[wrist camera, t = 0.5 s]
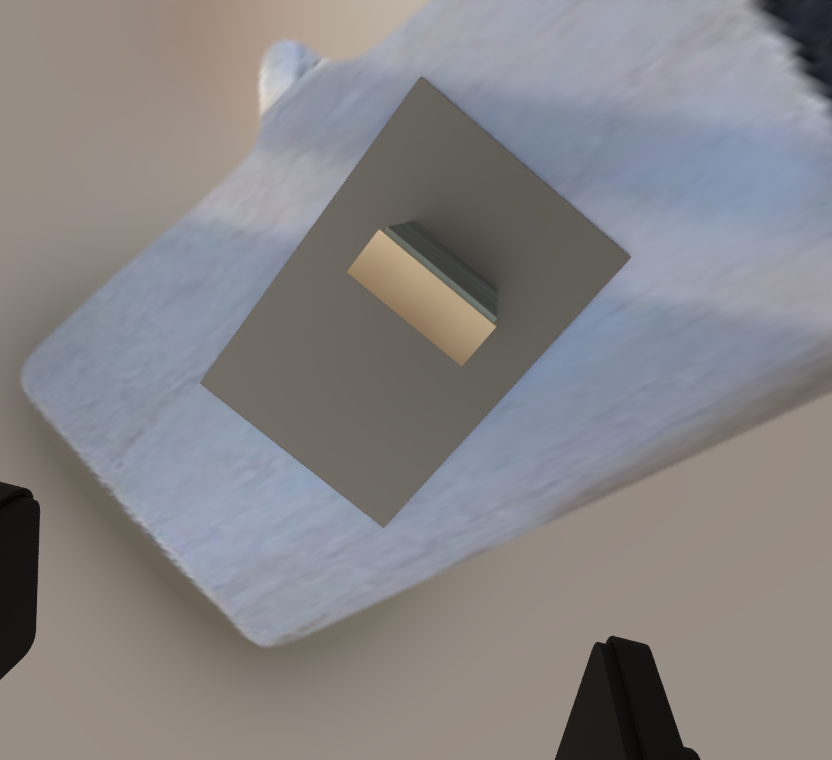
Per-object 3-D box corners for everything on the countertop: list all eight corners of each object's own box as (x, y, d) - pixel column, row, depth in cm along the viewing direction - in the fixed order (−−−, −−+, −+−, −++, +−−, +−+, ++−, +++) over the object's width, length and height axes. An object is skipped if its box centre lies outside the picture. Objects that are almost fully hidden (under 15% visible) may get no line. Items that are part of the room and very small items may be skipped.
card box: (411, 218, 39) (382, 223, 29) (500, 292, 39) (500, 322, 30) (383, 254, 40) (346, 271, 30) (470, 326, 40) (461, 366, 30)
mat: (422, 78, 37) (420, 76, 37) (629, 256, 38) (631, 256, 38) (203, 380, 44) (199, 383, 43) (385, 523, 45) (383, 527, 45)
